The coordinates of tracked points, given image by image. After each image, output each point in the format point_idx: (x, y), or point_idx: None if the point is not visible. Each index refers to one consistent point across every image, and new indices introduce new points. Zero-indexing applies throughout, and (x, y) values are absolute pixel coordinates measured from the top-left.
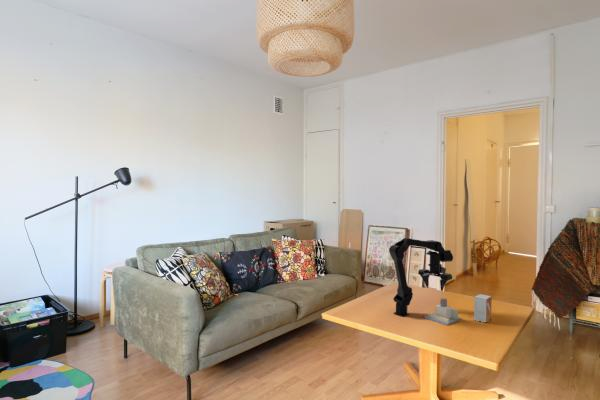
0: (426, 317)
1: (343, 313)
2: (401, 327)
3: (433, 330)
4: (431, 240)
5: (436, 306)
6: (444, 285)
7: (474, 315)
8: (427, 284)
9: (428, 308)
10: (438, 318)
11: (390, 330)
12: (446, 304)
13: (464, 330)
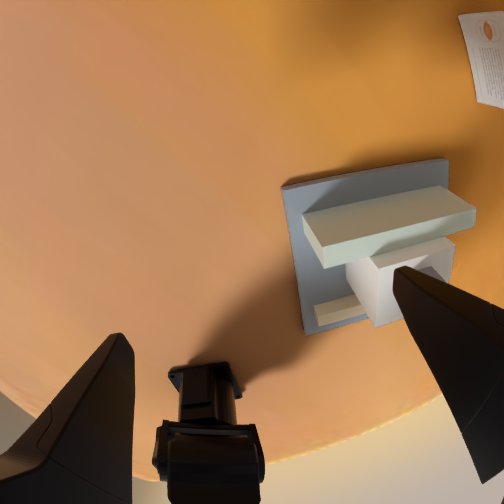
0: (323, 330)
1: (146, 468)
2: (325, 423)
3: (411, 361)
4: None
5: (375, 323)
6: (485, 310)
7: (499, 107)
8: (122, 389)
9: (156, 177)
10: None
11: (322, 443)
12: (438, 278)
13: (487, 264)
